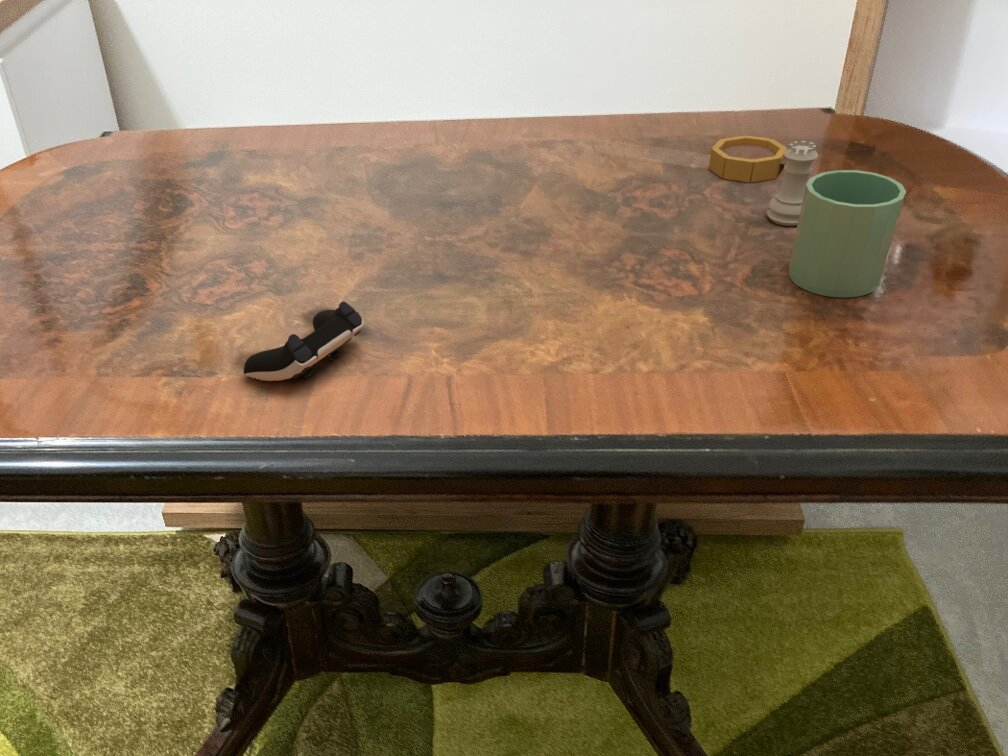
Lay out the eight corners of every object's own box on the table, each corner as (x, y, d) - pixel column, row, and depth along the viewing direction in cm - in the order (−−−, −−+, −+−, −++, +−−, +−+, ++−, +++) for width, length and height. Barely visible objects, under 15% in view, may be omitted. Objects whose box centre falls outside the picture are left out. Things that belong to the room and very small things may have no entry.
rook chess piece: (779, 230, 97) (794, 155, 92) (758, 213, 100) (771, 140, 95) (818, 223, 98) (835, 149, 93) (796, 207, 101) (811, 134, 96)
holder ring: (789, 161, 111) (793, 141, 109) (771, 186, 106) (774, 165, 104) (722, 152, 114) (725, 132, 113) (702, 175, 109) (705, 155, 108)
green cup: (887, 267, 89) (913, 177, 84) (870, 305, 84) (896, 212, 79) (800, 251, 93) (818, 164, 87) (778, 286, 88) (796, 197, 82)
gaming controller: (266, 408, 81) (299, 380, 76) (235, 368, 81) (266, 336, 75) (345, 352, 88) (382, 322, 82) (317, 314, 87) (352, 281, 82)
